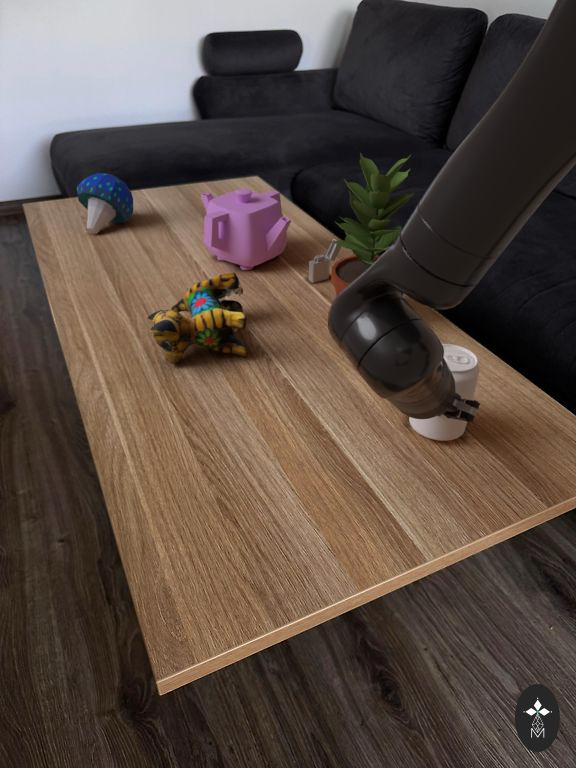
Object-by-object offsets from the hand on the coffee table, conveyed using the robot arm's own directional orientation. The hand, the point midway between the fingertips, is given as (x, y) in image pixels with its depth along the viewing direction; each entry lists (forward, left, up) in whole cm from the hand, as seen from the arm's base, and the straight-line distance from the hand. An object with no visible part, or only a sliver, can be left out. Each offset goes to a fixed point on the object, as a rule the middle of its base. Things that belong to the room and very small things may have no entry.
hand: (438, 407), depth 81 cm
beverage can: (+1, -3, -6) cm, 7 cm away
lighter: (+46, -25, -6) cm, 53 cm away
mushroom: (+102, -5, -6) cm, 103 cm away
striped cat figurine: (+43, +9, -6) cm, 45 cm away
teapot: (+65, -19, -6) cm, 68 cm away
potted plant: (+30, -20, -6) cm, 37 cm away
